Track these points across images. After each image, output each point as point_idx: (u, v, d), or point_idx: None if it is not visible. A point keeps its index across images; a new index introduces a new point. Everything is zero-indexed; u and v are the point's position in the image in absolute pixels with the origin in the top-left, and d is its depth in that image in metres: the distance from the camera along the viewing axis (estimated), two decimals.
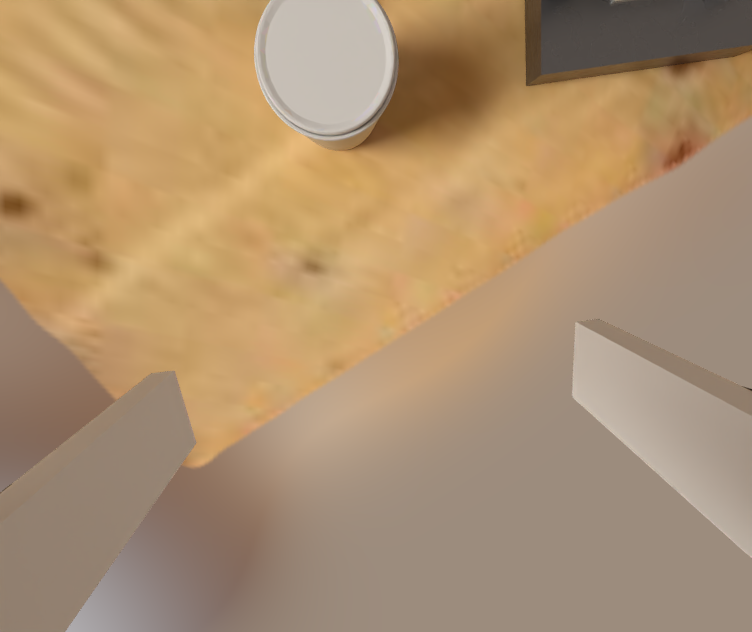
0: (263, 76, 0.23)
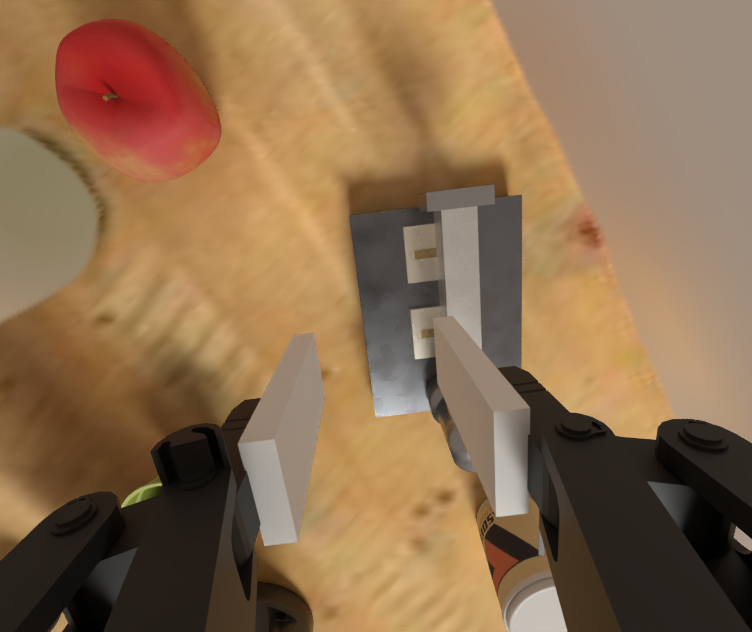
0: None
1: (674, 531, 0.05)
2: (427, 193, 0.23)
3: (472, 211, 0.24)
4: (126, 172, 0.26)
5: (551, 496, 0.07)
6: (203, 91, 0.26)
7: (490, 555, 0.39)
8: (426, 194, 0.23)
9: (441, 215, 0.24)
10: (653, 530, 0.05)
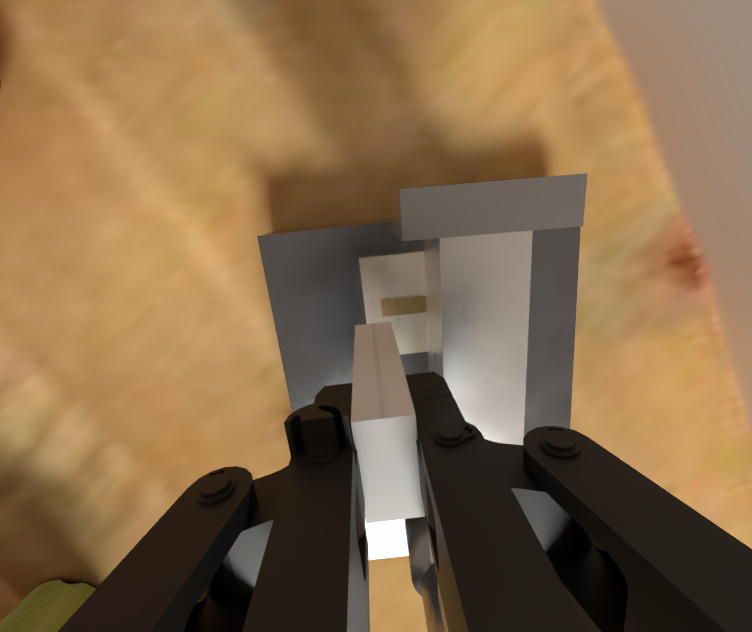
0: None
1: (526, 527, 0.05)
2: (403, 191, 0.08)
3: (519, 242, 0.09)
4: None
5: (433, 505, 0.07)
6: None
7: None
8: (401, 194, 0.09)
9: (439, 249, 0.10)
10: (508, 530, 0.05)
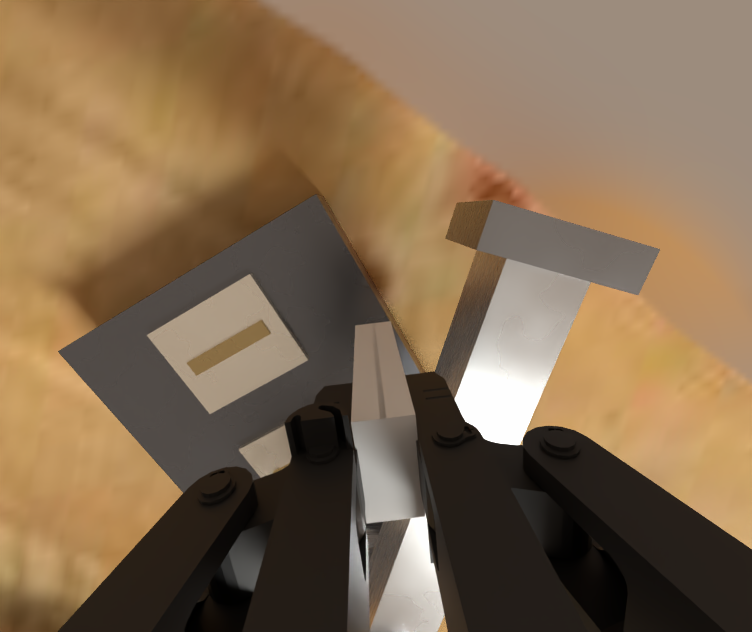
0: None
1: (526, 527, 0.05)
2: (495, 204, 0.09)
3: (574, 290, 0.10)
4: None
5: None
6: None
7: None
8: (491, 205, 0.09)
9: (501, 270, 0.10)
10: (508, 530, 0.05)
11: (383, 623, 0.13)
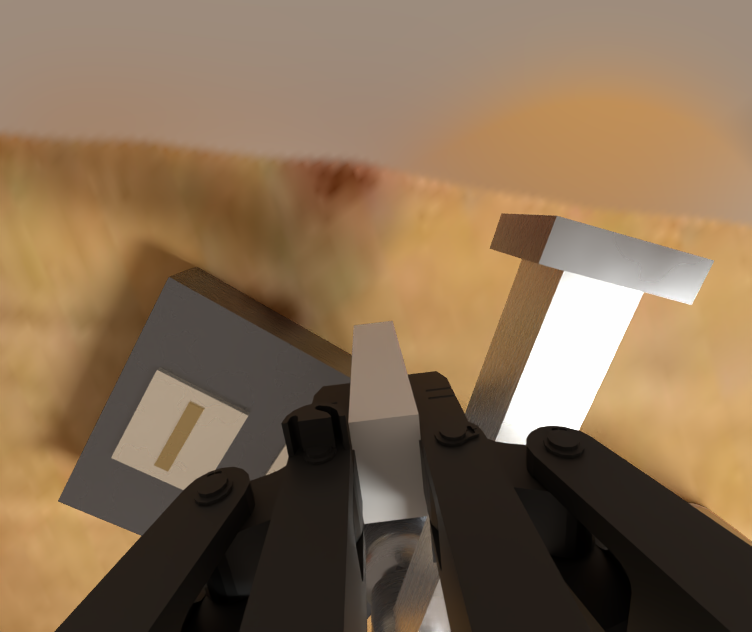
0: None
1: (529, 527, 0.05)
2: (559, 219, 0.09)
3: (627, 300, 0.10)
4: None
5: None
6: None
7: None
8: (554, 221, 0.09)
9: (557, 282, 0.10)
10: (511, 529, 0.05)
11: (431, 623, 0.13)
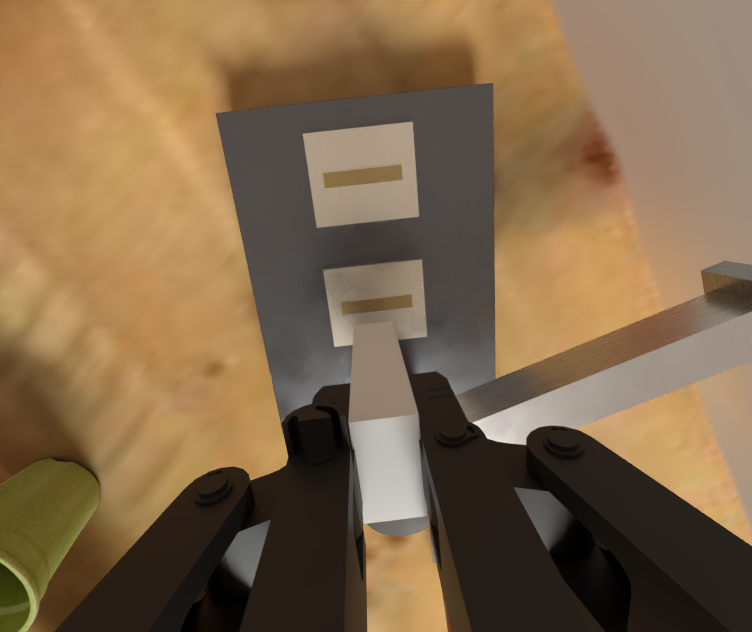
0: None
1: (529, 527, 0.05)
2: None
3: None
4: None
5: None
6: None
7: None
8: None
9: None
10: (511, 530, 0.05)
11: (479, 427, 0.17)
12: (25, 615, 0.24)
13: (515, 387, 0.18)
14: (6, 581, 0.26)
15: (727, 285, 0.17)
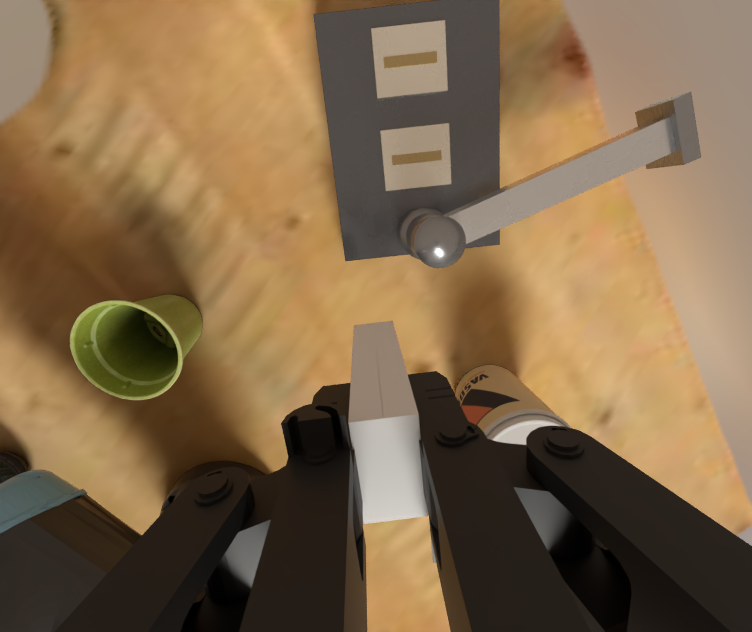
0: None
1: (529, 527, 0.05)
2: (690, 93, 0.24)
3: (670, 148, 0.26)
4: None
5: None
6: None
7: (466, 416, 0.37)
8: (687, 93, 0.24)
9: (663, 119, 0.25)
10: (511, 529, 0.05)
11: (489, 204, 0.27)
12: (167, 380, 0.34)
13: (512, 185, 0.27)
14: (145, 370, 0.36)
15: (649, 115, 0.27)
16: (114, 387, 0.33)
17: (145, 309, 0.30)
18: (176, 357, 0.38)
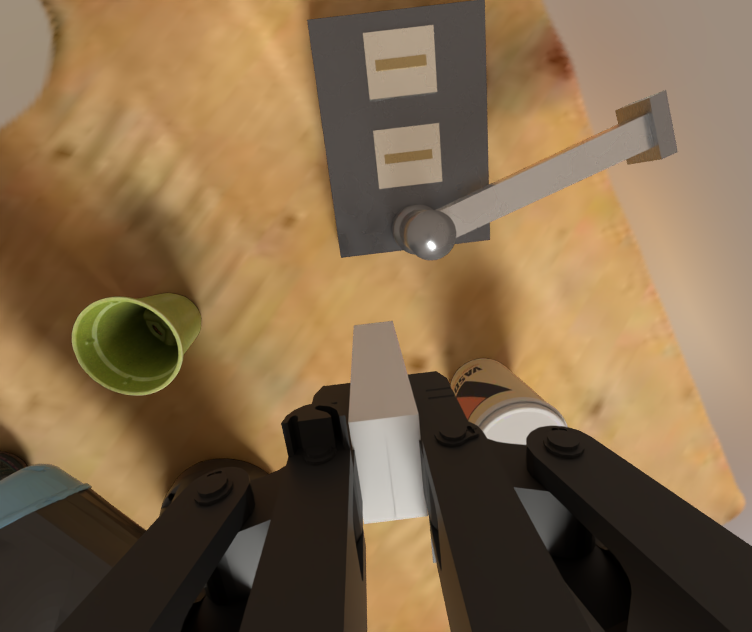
0: None
1: (529, 527, 0.05)
2: (665, 91, 0.26)
3: (648, 144, 0.27)
4: None
5: None
6: None
7: None
8: (663, 91, 0.26)
9: (641, 116, 0.27)
10: (511, 529, 0.05)
11: (478, 198, 0.28)
12: (168, 376, 0.34)
13: (500, 180, 0.29)
14: (145, 367, 0.37)
15: (628, 113, 0.28)
16: (115, 383, 0.34)
17: (146, 305, 0.31)
18: (175, 354, 0.39)
